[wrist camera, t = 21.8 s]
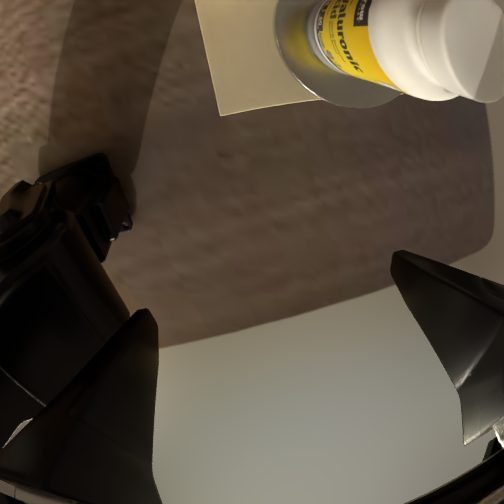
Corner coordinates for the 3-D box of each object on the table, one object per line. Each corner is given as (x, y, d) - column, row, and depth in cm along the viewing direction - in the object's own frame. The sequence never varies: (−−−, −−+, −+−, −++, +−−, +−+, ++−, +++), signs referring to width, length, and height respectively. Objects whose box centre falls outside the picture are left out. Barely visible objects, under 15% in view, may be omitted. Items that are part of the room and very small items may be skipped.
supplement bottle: (309, -14, 11) (419, -59, 4) (395, 2, 12) (528, 4, 4) (311, 74, 15) (420, 113, 7) (394, 81, 15) (520, 133, 7)
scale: (211, 114, 19) (212, 125, 16) (171, -63, 10) (166, -79, 8) (394, 91, 19) (417, 99, 16) (370, -69, 10) (391, -79, 8)
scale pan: (286, 115, 16) (288, 117, 16) (258, -37, 11) (260, -40, 10) (421, 103, 17) (426, 105, 16) (408, -28, 11) (413, -29, 10)
